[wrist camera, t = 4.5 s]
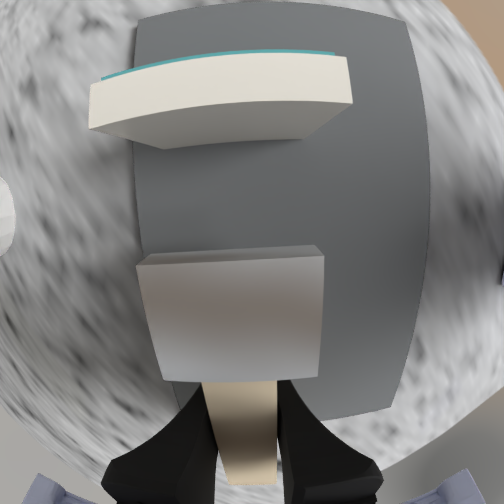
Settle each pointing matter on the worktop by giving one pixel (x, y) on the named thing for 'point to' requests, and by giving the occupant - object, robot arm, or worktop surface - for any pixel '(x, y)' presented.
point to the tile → (222, 97)
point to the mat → (308, 187)
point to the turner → (237, 338)
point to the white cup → (6, 217)
